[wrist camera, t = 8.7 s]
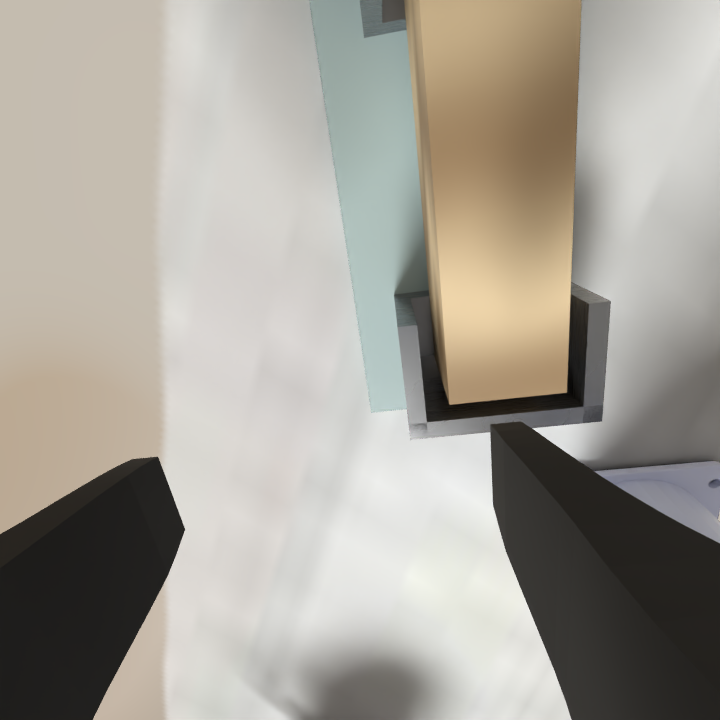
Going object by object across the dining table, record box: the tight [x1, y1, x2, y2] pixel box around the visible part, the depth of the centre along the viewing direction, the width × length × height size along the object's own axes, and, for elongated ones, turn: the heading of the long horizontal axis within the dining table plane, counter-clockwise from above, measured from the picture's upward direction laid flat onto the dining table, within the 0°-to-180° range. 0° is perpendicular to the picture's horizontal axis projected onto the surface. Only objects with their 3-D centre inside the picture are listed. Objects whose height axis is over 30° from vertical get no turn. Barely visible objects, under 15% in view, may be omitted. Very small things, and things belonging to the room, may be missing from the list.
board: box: [309, 0, 429, 413], centre depth 15 cm, size 19×8×1 cm, turn 8°
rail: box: [404, 0, 581, 405], centre depth 12 cm, size 14×4×4 cm, turn 8°
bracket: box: [394, 282, 611, 440], centre depth 15 cm, size 4×6×4 cm, turn 98°
